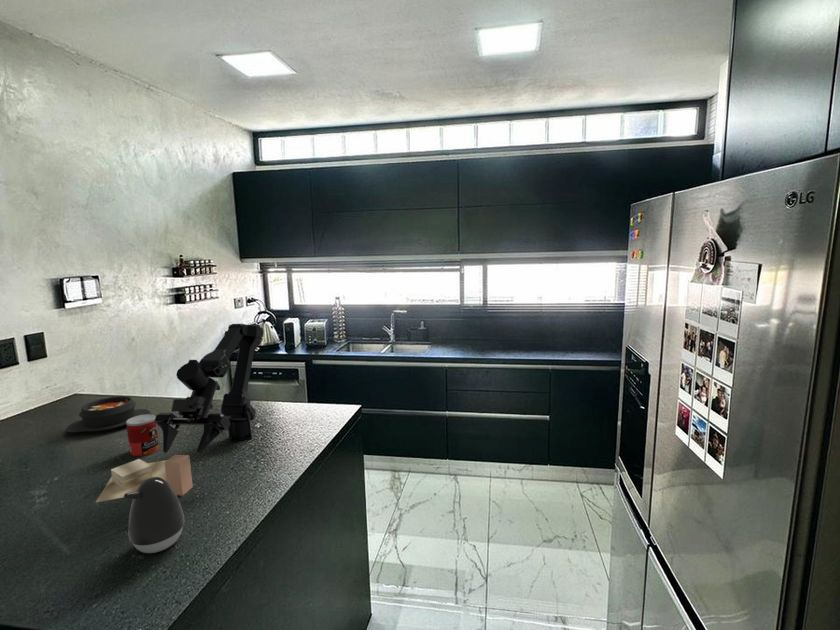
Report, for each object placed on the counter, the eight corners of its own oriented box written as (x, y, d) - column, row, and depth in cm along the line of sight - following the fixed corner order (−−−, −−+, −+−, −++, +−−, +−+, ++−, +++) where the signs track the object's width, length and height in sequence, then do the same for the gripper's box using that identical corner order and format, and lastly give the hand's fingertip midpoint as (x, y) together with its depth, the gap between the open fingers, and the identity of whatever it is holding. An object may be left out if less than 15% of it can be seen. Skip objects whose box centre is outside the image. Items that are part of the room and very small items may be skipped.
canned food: (146, 459, 132) (141, 424, 130) (124, 457, 133) (119, 423, 132) (165, 447, 139) (161, 414, 137) (144, 445, 141) (140, 413, 139)
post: (178, 488, 115) (174, 454, 114) (193, 488, 115) (189, 455, 113) (168, 496, 111) (164, 462, 110) (183, 497, 111) (179, 462, 109)
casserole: (151, 409, 173) (148, 389, 171) (151, 425, 157) (148, 403, 156) (71, 424, 160) (67, 402, 158) (62, 443, 144) (58, 419, 143)
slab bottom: (140, 470, 124) (140, 464, 123) (152, 477, 120) (151, 471, 120) (112, 481, 118) (111, 475, 118) (124, 489, 114) (123, 483, 114)
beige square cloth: (187, 458, 131) (186, 456, 131) (177, 489, 115) (176, 487, 115) (117, 470, 125) (116, 468, 125) (95, 504, 109) (95, 502, 109)
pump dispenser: (120, 550, 92) (110, 484, 89) (170, 523, 100) (162, 462, 98) (146, 568, 86) (136, 498, 84) (196, 538, 95) (188, 473, 93)
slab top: (140, 464, 123) (139, 458, 123) (151, 471, 120) (151, 465, 119) (111, 475, 118) (110, 469, 118) (123, 483, 114) (122, 476, 114)
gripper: (154, 384, 117) (129, 441, 108) (220, 384, 116) (201, 442, 107) (175, 402, 126) (154, 456, 117) (237, 402, 125) (221, 457, 116)
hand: (181, 452), depth 114 cm, fingers open, 9 cm apart
